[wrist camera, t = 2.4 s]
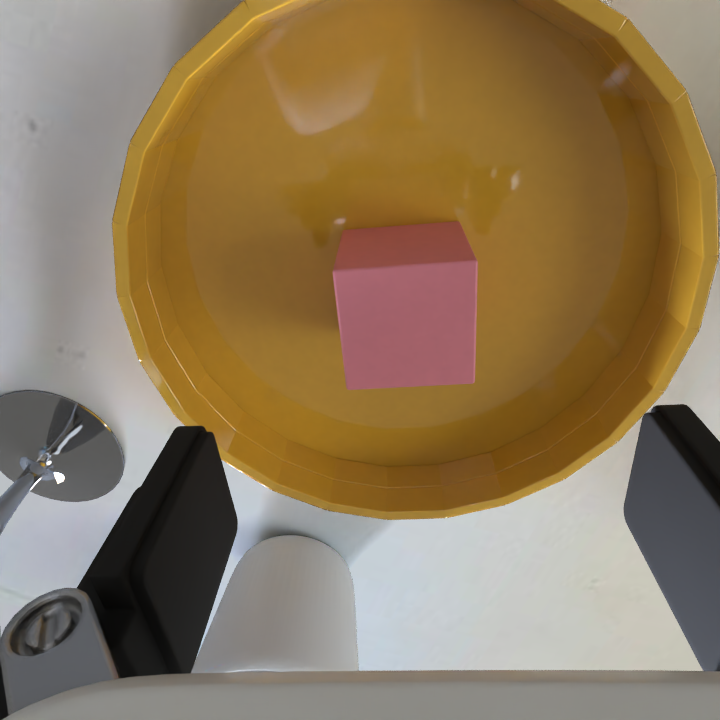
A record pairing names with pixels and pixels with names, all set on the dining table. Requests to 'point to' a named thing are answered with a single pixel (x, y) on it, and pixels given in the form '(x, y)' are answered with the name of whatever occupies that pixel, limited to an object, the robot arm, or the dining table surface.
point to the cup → (284, 612)
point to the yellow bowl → (410, 207)
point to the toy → (406, 306)
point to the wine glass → (54, 451)
